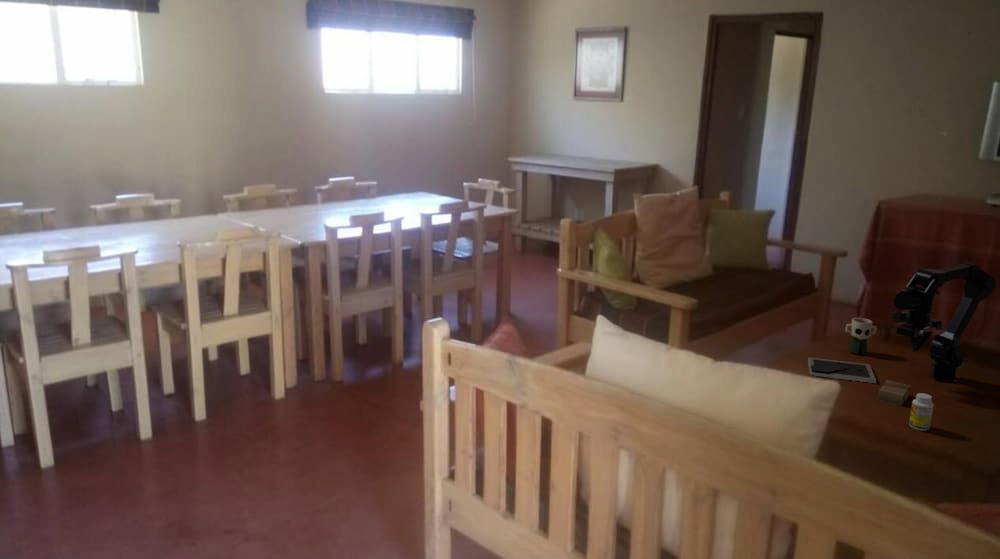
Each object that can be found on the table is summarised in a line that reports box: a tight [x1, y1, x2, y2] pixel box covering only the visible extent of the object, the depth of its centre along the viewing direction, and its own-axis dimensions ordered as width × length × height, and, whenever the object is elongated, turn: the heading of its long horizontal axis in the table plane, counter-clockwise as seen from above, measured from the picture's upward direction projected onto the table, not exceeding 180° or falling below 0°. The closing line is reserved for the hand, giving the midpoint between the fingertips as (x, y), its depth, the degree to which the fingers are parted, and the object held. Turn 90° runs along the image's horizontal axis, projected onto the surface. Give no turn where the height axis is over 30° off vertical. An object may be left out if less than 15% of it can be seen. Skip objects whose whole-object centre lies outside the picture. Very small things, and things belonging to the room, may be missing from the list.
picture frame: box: [807, 356, 877, 385], centre depth 264 cm, size 16×3×21 cm
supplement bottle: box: [908, 392, 935, 431], centre depth 220 cm, size 6×6×10 cm
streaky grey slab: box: [877, 379, 911, 407], centre depth 242 cm, size 4×7×11 cm
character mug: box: [845, 317, 878, 355], centre depth 282 cm, size 11×7×13 cm, turn 79°
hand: (915, 351), depth 251 cm, fingers closed
